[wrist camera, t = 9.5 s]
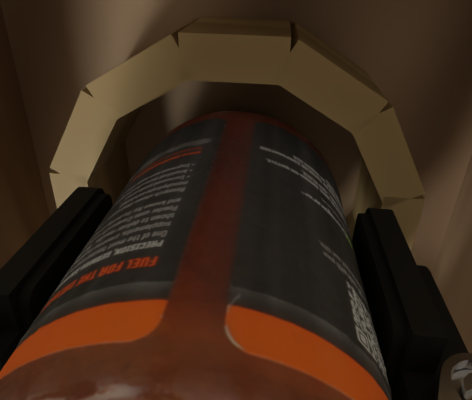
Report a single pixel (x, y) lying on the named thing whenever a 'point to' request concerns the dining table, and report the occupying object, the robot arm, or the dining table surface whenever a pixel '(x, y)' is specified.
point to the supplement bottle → (211, 282)
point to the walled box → (248, 104)
